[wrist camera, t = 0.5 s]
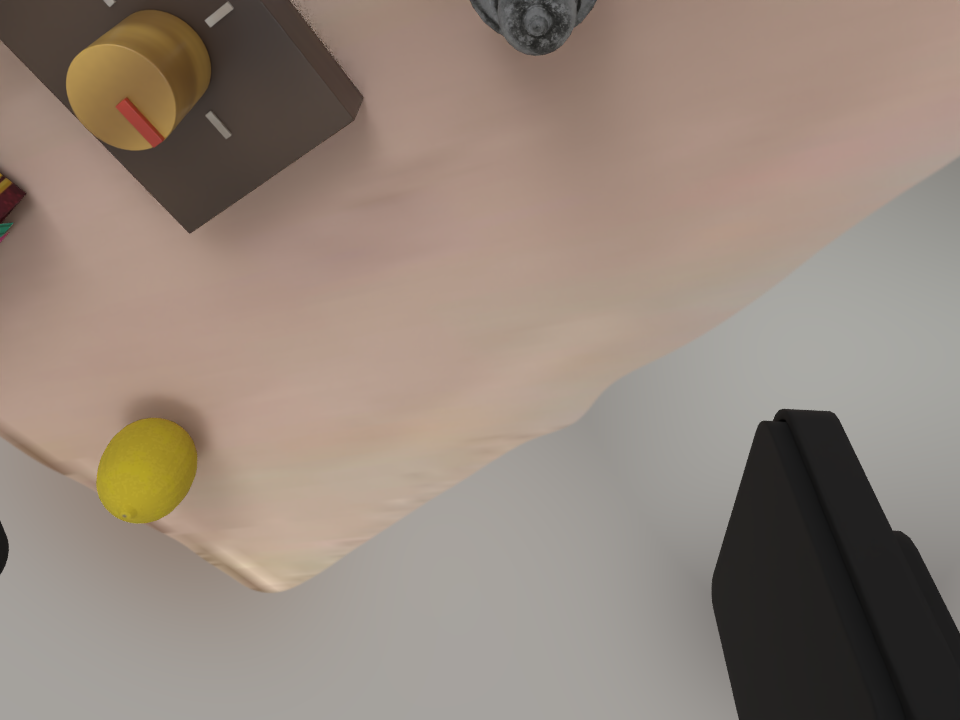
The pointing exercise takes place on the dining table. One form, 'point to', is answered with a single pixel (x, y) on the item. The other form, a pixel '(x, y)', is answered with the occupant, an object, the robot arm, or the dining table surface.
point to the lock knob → (139, 80)
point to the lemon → (146, 470)
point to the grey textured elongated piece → (533, 21)
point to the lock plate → (206, 92)
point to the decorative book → (8, 202)
